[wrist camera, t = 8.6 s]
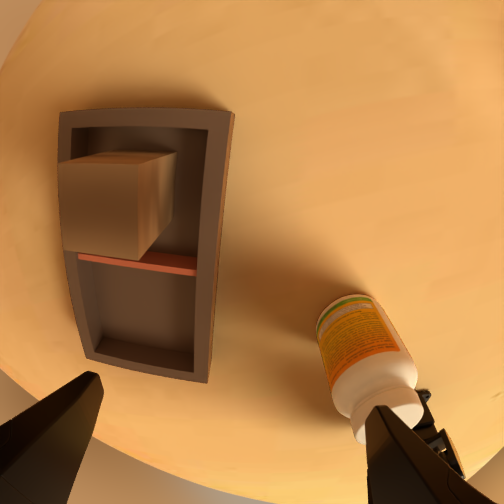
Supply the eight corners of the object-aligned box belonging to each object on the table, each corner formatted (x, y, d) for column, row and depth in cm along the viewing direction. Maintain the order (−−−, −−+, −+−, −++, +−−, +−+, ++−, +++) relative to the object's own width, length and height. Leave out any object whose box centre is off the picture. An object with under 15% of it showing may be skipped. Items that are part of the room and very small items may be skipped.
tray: (211, 360, 23) (207, 383, 20) (98, 338, 22) (86, 358, 20) (234, 114, 16) (231, 111, 13) (82, 112, 15) (60, 112, 13)
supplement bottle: (300, 332, 21) (320, 444, 12) (347, 279, 20) (400, 384, 11) (350, 357, 23) (382, 455, 14) (394, 311, 21) (450, 404, 12)
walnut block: (173, 218, 17) (138, 260, 12) (114, 212, 17) (63, 249, 12) (177, 151, 16) (138, 164, 10) (115, 149, 16) (57, 163, 10)
